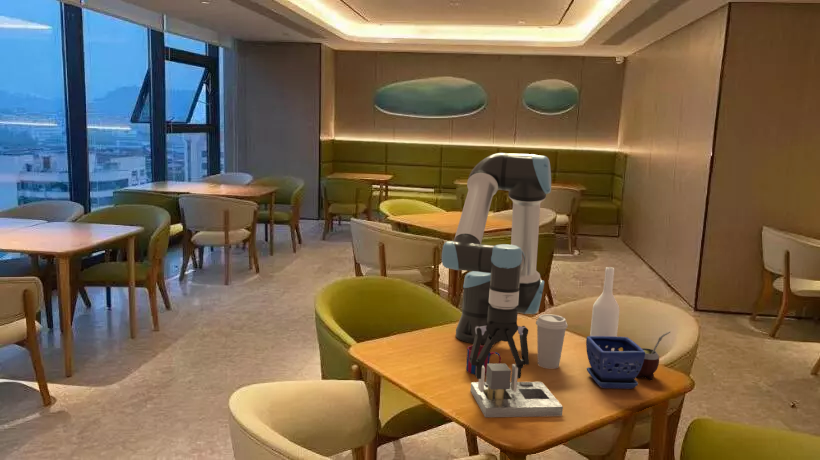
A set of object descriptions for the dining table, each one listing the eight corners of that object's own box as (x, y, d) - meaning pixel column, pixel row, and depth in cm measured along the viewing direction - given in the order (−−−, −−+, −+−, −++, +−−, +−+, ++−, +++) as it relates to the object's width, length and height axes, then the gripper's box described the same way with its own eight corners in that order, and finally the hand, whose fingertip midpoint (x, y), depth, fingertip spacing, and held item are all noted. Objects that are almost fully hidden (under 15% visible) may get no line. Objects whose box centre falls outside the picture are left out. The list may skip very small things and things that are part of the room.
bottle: (599, 365, 199) (608, 271, 194) (582, 356, 206) (591, 265, 201) (619, 363, 202) (629, 270, 197) (602, 354, 209) (611, 264, 205)
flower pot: (643, 392, 180) (647, 351, 178) (597, 391, 179) (601, 350, 177) (624, 374, 193) (628, 336, 191) (581, 373, 192) (584, 335, 190)
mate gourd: (627, 373, 194) (632, 325, 191) (648, 371, 196) (653, 323, 194) (644, 382, 187) (649, 333, 184) (665, 380, 190) (671, 331, 187)
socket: (470, 391, 175) (471, 381, 174) (540, 390, 178) (541, 380, 177) (485, 417, 159) (486, 406, 159) (562, 416, 162) (563, 405, 162)
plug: (484, 397, 170) (487, 363, 168) (503, 397, 170) (505, 363, 169) (489, 405, 165) (492, 370, 163) (508, 405, 166) (511, 370, 164)
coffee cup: (564, 372, 192) (568, 324, 190) (532, 368, 194) (536, 320, 191) (563, 361, 201) (567, 315, 199) (532, 357, 203) (536, 312, 201)
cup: (469, 365, 194) (470, 343, 193) (501, 370, 191) (503, 348, 190) (463, 372, 188) (465, 350, 187) (497, 378, 185) (498, 355, 184)
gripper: (466, 309, 158) (461, 396, 162) (547, 309, 161) (540, 395, 165) (460, 301, 166) (454, 384, 169) (537, 301, 169) (531, 383, 172)
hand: (497, 389), depth 167 cm, fingers open, 8 cm apart
